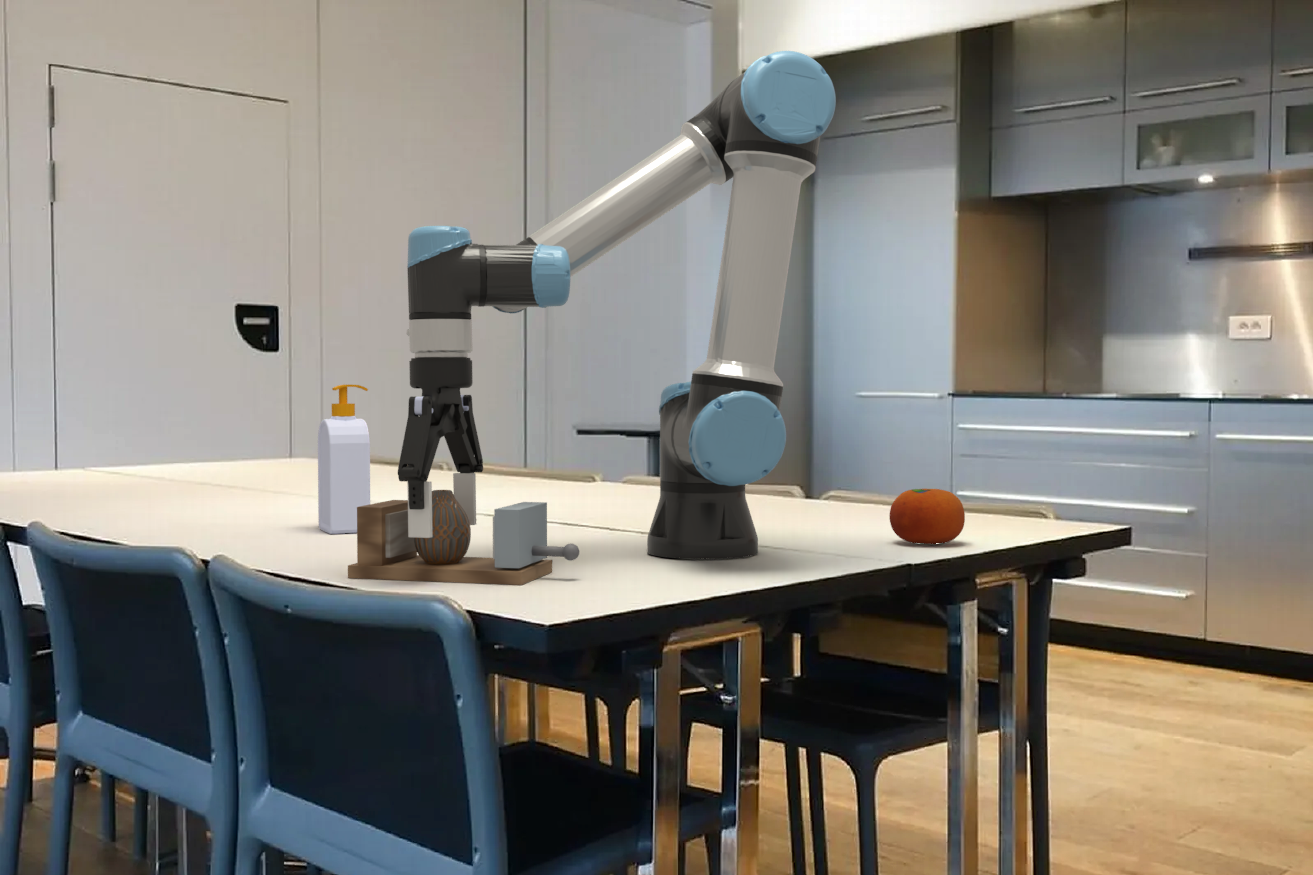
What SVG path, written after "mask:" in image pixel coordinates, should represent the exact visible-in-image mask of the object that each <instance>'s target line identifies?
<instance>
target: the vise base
mask: <svg viewBox="0 0 1313 875" xmlns="http://www.w3.org/2000/svg"><path fill="white" fill-rule="evenodd" d="M356 537H357V538H356V539H357V540H356V545H357V546H356V548H357V550H356V553H357V556H356V559H357V562H355V563H352V564H349V565H347V579H360V580H361V579H362V580H363V579H364V580H391V581H415V582H437V583H463V584H486V585H488V584H490V585H491V584H492V585H509V586H510V585H512V586H513V585H514V586H516V585H517V586H523V585H525V584H527V583H528V584H529V583H530V582H532V581H534V580H537V579H539V578H542V577H545V576H546V575H549V574H551V573H553V559H542V560H539V561H537V562H534V563H532V564H529V565H526V566H524V567H521V568H495V559H493V557H480V556H479V557H477V556H475V557H473V556H464V557H463V558H462V559H461V560H460V561H459V562H458V563H453V564H429V563H426V562H425V561H424V560H423V559H422V558H421V557H420V556H419V554H418V553H417V550H416V548H415V544H414V538H413V537H408V499H406V500H405V499H391V500H386V501H381V502H375V503H370V505H364V506H359V507H357V533H356Z"/></svg>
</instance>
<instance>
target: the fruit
mask: <svg viewBox="0 0 1313 875" xmlns="http://www.w3.org/2000/svg"><path fill="white" fill-rule="evenodd" d="M965 514H966V513H965V509H964V505H963V503H962V501H961V500H960V498H959V497H957V496H956V495H955V493H953V492H951V491H949V490H944V489H941V488H939V489H938V488H913V489H908V490H905V491H904V492H902V493H900V494H899V495H898V496H897V497H896V498H895V499H894V501H893V502H892V504H891V506H890V509H889V523H890V526H891V529H892V531H893V532H894V534H895V535H896V536H898V538H900V539H902V540H904V541H905V542H908V543H911V542H912V543H911V544H915V543H924V544H923V545H935V544H936V543H943V544H946V543H945V542H947V543H950V542H952V541H953V540H955V539H956V538H957V537H959V536H960V534H961V532H962V531H963V529H964V527H965V521H966V519H965V518H966V517H965Z"/></svg>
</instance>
